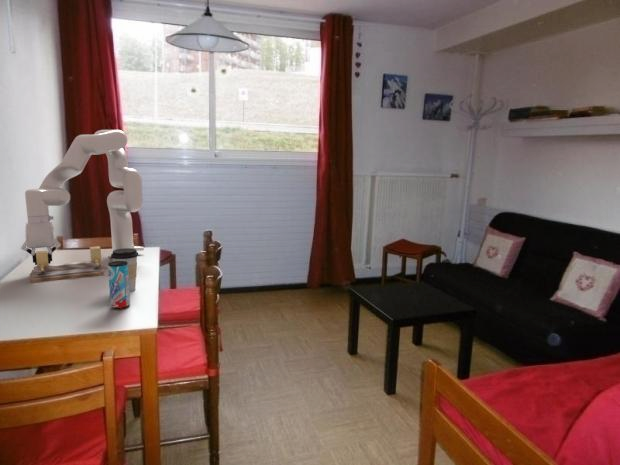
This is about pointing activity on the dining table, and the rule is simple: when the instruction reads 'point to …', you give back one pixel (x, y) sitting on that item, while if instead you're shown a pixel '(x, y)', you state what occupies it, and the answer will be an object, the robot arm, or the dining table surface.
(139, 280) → the dining table surface
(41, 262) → the block
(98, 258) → the fixed leg
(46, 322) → the dining table surface
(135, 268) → the coffee cup
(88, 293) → the dining table surface
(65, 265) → the board
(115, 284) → the beverage can
